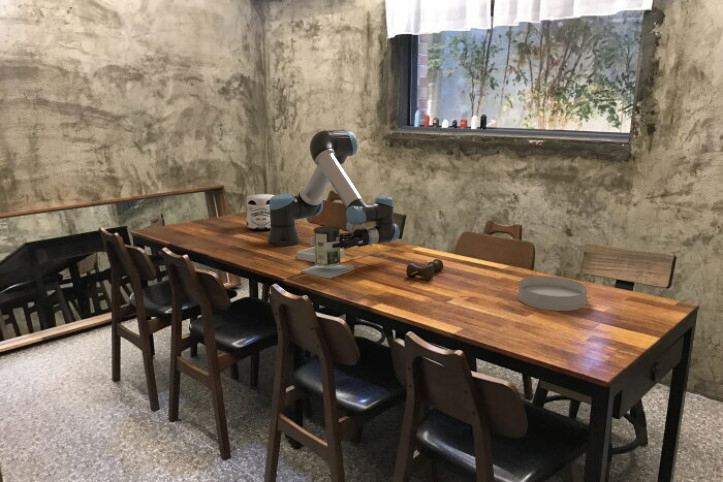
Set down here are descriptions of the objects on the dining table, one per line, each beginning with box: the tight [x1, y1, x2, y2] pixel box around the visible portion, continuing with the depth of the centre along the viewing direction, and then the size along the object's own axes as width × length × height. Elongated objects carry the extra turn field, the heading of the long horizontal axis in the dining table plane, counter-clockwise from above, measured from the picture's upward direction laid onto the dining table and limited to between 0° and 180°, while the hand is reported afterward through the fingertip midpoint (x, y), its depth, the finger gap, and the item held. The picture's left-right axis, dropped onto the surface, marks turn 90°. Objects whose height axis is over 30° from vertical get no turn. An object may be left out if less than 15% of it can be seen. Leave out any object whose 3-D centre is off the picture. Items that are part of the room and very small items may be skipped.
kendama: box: [405, 258, 444, 282], centre depth 211 cm, size 6×10×20 cm
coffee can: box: [313, 225, 341, 266], centre depth 216 cm, size 10×10×14 cm
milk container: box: [245, 193, 275, 231], centre depth 297 cm, size 17×17×18 cm
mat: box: [300, 264, 355, 280], centre depth 218 cm, size 15×15×1 cm
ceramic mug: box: [345, 221, 365, 234], centre depth 284 cm, size 11×8×8 cm
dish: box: [516, 275, 588, 312], centre depth 184 cm, size 22×22×5 cm
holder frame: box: [296, 246, 345, 263], centre depth 238 cm, size 15×15×3 cm
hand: (317, 244), depth 214 cm, fingers closed on coffee can, 10 cm apart
